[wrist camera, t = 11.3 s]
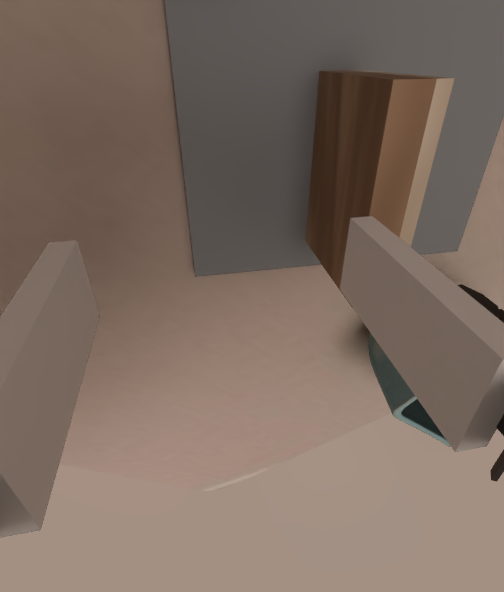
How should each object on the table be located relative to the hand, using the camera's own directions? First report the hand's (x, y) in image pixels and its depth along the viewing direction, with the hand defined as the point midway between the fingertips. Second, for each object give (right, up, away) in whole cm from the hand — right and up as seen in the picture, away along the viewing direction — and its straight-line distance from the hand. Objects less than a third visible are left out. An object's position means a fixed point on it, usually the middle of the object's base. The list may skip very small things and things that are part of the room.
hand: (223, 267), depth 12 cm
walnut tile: (+6, +7, +11) cm, 14 cm away
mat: (+7, +8, +11) cm, 15 cm away
